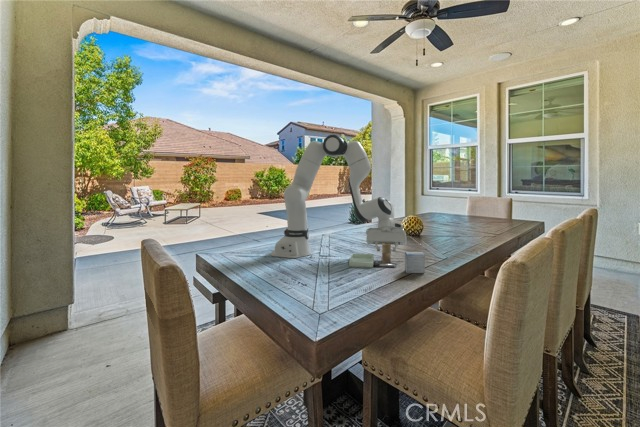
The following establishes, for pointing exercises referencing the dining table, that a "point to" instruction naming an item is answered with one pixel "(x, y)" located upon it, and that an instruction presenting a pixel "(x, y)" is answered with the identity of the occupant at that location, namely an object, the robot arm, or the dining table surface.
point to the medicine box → (414, 262)
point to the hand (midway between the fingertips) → (386, 250)
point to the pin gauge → (383, 265)
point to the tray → (361, 260)
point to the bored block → (386, 252)
